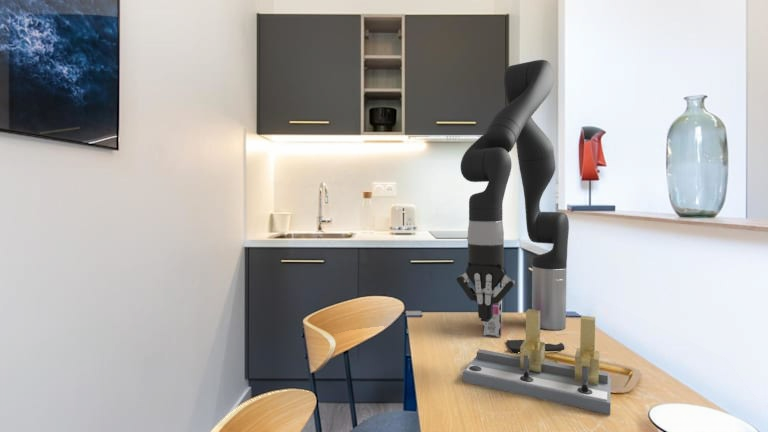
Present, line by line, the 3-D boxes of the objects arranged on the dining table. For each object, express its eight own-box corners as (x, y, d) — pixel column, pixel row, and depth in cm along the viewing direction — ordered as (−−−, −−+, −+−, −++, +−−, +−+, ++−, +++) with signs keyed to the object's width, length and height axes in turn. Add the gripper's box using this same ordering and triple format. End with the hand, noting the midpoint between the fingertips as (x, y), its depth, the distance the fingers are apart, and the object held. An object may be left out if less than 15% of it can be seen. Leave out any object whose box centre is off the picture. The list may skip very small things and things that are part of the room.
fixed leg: (576, 371, 82) (577, 313, 82) (599, 375, 80) (600, 316, 80) (572, 391, 73) (573, 326, 73) (597, 396, 71) (598, 330, 71)
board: (479, 361, 92) (479, 345, 92) (610, 386, 79) (610, 369, 79) (462, 381, 82) (462, 364, 82) (610, 414, 69) (610, 394, 69)
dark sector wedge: (570, 358, 95) (570, 352, 95) (510, 355, 97) (510, 348, 97) (560, 346, 103) (560, 339, 103) (505, 343, 105) (505, 337, 105)
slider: (524, 360, 87) (525, 307, 86) (544, 363, 85) (545, 309, 84) (514, 377, 78) (515, 318, 78) (536, 382, 76) (537, 321, 76)
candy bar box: (502, 338, 108) (502, 277, 107) (482, 336, 109) (483, 276, 108) (501, 325, 118) (502, 270, 118) (484, 324, 120) (484, 269, 119)
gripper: (520, 241, 88) (520, 320, 88) (461, 238, 94) (461, 312, 95) (513, 245, 81) (512, 330, 82) (450, 242, 88) (450, 321, 88)
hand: (485, 320), depth 88 cm, fingers closed
